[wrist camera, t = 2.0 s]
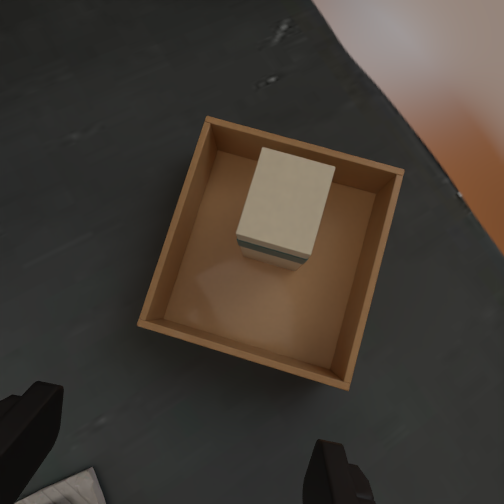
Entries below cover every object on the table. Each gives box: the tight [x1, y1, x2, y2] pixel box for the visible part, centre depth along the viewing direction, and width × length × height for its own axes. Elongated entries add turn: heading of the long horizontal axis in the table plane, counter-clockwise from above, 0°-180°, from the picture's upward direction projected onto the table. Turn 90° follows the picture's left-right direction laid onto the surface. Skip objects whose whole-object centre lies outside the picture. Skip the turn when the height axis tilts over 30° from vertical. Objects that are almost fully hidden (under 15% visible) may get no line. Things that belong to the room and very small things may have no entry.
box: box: [137, 116, 405, 391], centre depth 30 cm, size 16×15×5 cm
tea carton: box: [236, 147, 335, 271], centre depth 27 cm, size 6×5×10 cm
